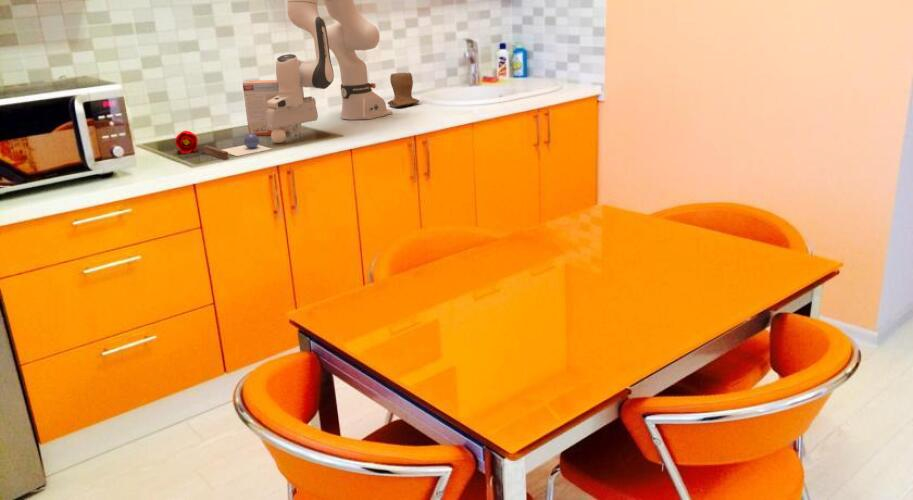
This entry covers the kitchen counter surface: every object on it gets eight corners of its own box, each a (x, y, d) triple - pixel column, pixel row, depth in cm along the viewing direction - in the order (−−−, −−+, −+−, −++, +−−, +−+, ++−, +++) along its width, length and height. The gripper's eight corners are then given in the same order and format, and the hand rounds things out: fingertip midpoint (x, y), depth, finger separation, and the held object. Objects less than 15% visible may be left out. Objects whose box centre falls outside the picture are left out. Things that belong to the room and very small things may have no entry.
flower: (200, 133, 304) (200, 137, 296) (194, 153, 305) (194, 157, 298) (179, 126, 301) (178, 130, 293) (173, 146, 302) (172, 150, 295)
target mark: (253, 143, 307) (253, 143, 307) (272, 149, 297) (272, 148, 297) (219, 150, 299) (219, 150, 299) (237, 156, 289) (236, 155, 289)
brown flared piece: (405, 101, 381) (403, 69, 376) (423, 104, 373) (421, 71, 368) (381, 106, 371) (378, 73, 366) (398, 109, 363) (396, 75, 358)
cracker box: (287, 132, 326) (281, 79, 319) (283, 135, 320) (277, 81, 313) (253, 132, 327) (247, 80, 320) (248, 135, 322) (241, 82, 315)
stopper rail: (208, 152, 297) (207, 145, 296) (228, 158, 286) (227, 151, 285) (204, 152, 296) (203, 146, 295) (224, 159, 285) (223, 152, 284)
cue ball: (266, 137, 306) (277, 146, 309) (271, 137, 302) (283, 145, 305) (273, 125, 308) (285, 134, 310) (279, 125, 303) (291, 133, 306)
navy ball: (239, 135, 298) (243, 149, 301) (246, 137, 294) (250, 151, 297) (252, 130, 301) (256, 144, 304) (259, 132, 297) (263, 146, 300)
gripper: (310, 94, 314) (313, 130, 319) (262, 102, 302) (267, 139, 306) (319, 96, 310) (322, 132, 314) (271, 104, 297) (275, 141, 302)
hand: (294, 135), depth 310 cm, fingers closed
